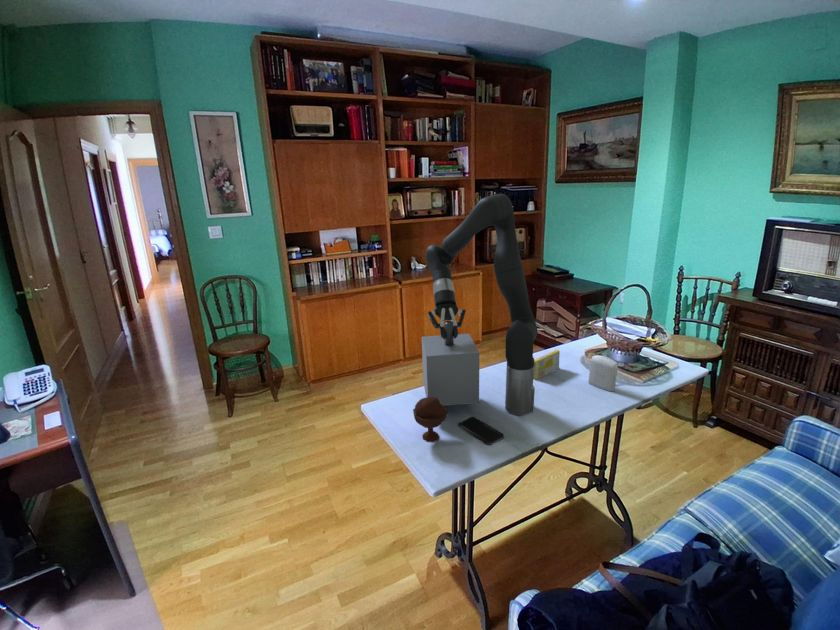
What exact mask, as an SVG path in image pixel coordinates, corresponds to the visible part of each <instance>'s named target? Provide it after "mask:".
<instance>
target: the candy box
mask: <svg viewBox="0 0 840 630" xmlns="http://www.w3.org/2000/svg"><path fill="white" fill-rule="evenodd" d="M560 353H561V352H560V350H558V349H555V350H553V351H551V352H549V353H547V354H544V355H542V356H540V357H538V358H536V359H535V358H534V375H533V380H534V379H535V380H534V381H536V380H538V379H540V377H541V378H542V376H543V377H545V376H546V374H547V375H548V373H549V374H550V372H551V373H552V371H553V372H554V370H555V371H556V370H557V371H558V368H559V369H560ZM544 375H545V376H544Z"/></svg>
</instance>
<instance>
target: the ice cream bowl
mask: <svg viewBox="0 0 840 630" xmlns="http://www.w3.org/2000/svg"><path fill="white" fill-rule="evenodd" d="M414 406H415V407H414V408H413V409H412V412H413V418H414V421H415V422H416V423H417V424H418V425H420V426H422V428H426V429H427V431H425V432H423V434H422V439H423V440H424V441H425V442H429V443H432V442H436V441H438V439H440V436H439V433H438V432H437V431H435V430H434V428H438V427H439V426H441V425H442V424H443V423H444V422H445V421H446V419H447V416H448V409H447V407H446V406H444V405H442V404H440V401H439V400H438V398H436V397H433V396H429V397H427V398H426V397H423V398H420V399H419V400H418V401H417V402H416V404H415V405H414Z"/></svg>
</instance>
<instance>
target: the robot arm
mask: <svg viewBox="0 0 840 630" xmlns="http://www.w3.org/2000/svg"><path fill="white" fill-rule="evenodd" d="M492 226H494V228H495V229H494V230H495V233H496V240H497V241H496V248H495V254H494V259H493V271H494V274H495V280H496V284H497V287H498V289H499V291H500V293H501V295H502V296H503V299H504V300H505V302H506V304H507V307H508V309H509V316H510V317H509V318H510V322H511V323H510V324H511V325H510V326H509V327H508V328H507V330H506V333H505V360H506V373H505V397H504V398H505V402H504V404H505V406H504V409H505V411H506V412H508V413H509V414H510V415H515V416H525V415H528V414H530V413H534V406H535V394H536V393H535V391H536V390H535V385H534V379H533V375H534V360H535V358H534V342H535V340H536V338H537V336H538V326H537V323H536V320H535V317H534V314H533V311H532V308H531V305H530V300H529V293H528V288H527V287H528V286H527V282H526V276H525V272H524V267H523V262H522V258H521V254H520V248H519V242H518V238H517V232H516V224H515V213H514V207H513V204H512V201H511V199H510V198H509V196H507V195H506V194H504V193H497V194H496V193H495V194H493V195H488V196H485V197H483V198H481V199H480V200H478V202H477V203H476V205H475V206H474V207H473V208H472V210H471V211H470V212H469V214H468V215H467V216H466V217H465V219H464V220H463V221H462V222H461V223H460V224H459V225H458V226H457V227H456V228H455V229H454V230H453V231H451V233H449V234H448V235H446V237H445V238H444V239H443V240H442V243H441V245H437V244H430V245H429V246H428V247H427V248H426V250H425V254H424V256H425V257H424V258H425V262H426V265H427V267H428V269H429V271H430V274H431V276H432V285H433V286H432V290H433V293H432V294H433V300H434V301H433V302H434V310H432V311H428V313H427V317H428V318H429V321H430V322H431V324H432V326H433V327H434V329H439V333H440V336H441V338H443V339H445V328H444V322H446V321H452V322H453V333H454V339H455V338H456V337H457V336H458V334H459V331H458V328H461V327H462V325H463V322H464V318H465V315H466V311H467V310H466V309H465V308H463V309H460V308H459V307H458V305H457V301H456V299H457V298H456V293H455V287H454V283H453V277H452V271H451V269H450V267H449V266H450V265H452V263H453V262H454V260H455V259H456V257H457V255H458V254H459V253H460V252H461V251H462V250H463V249H465V248H466V247H467V246H468V245H469V244H470V243H471V242H472V240H473V238H474V237H475V235H476V234H478V233H479V232H481V231H483V230H484V229H487V228H489V227H492ZM457 314H458V316H459V320H458V322H457V319H456V315H457ZM435 316H437V317H438V319H439V320H440V321H439V323H438V321H437V319H436V318H435Z"/></svg>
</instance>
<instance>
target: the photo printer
mask: <svg viewBox="0 0 840 630" xmlns="http://www.w3.org/2000/svg"><path fill="white" fill-rule="evenodd" d="M589 365H590V366H589V373H588V374H589V375H588V383H589V384H590V385H592V386H595V387H598V388H601V390H602V389H603V390H605V391H608V392H613V390H614V391H615V389H616V384H617V378H618V369H619V363H618V362H617V361H615V360H614V359H612V358H610V357H608V356H604V355H600V354H599V355H592V357H591V359H590V364H589Z"/></svg>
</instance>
